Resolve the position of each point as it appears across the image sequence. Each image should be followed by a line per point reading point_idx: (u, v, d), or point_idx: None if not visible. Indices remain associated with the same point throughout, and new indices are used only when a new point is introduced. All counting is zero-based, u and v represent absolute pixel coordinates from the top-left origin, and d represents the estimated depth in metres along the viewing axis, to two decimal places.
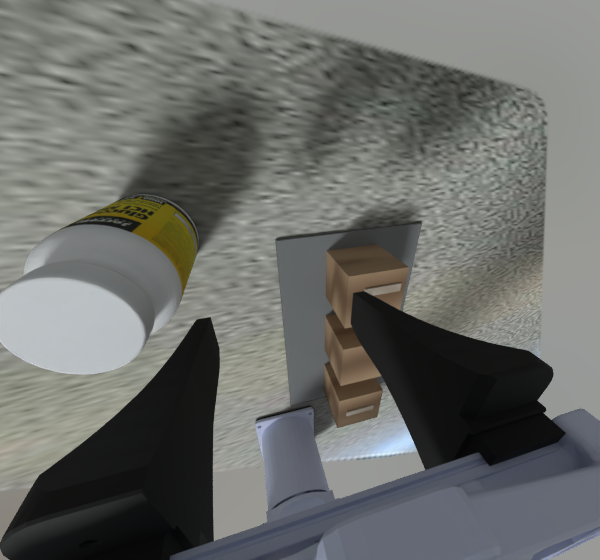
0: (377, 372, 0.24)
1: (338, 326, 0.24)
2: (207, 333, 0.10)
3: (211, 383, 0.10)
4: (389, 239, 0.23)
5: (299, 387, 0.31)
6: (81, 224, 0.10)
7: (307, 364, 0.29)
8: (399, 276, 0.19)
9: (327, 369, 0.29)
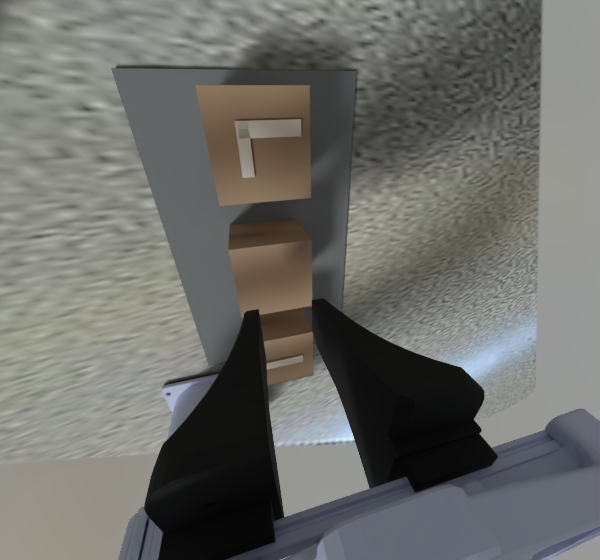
0: (297, 299, 0.17)
1: (240, 232, 0.17)
2: (260, 324, 0.10)
3: (265, 371, 0.10)
4: None
5: (215, 339, 0.23)
6: None
7: (219, 304, 0.21)
8: (295, 104, 0.11)
9: None
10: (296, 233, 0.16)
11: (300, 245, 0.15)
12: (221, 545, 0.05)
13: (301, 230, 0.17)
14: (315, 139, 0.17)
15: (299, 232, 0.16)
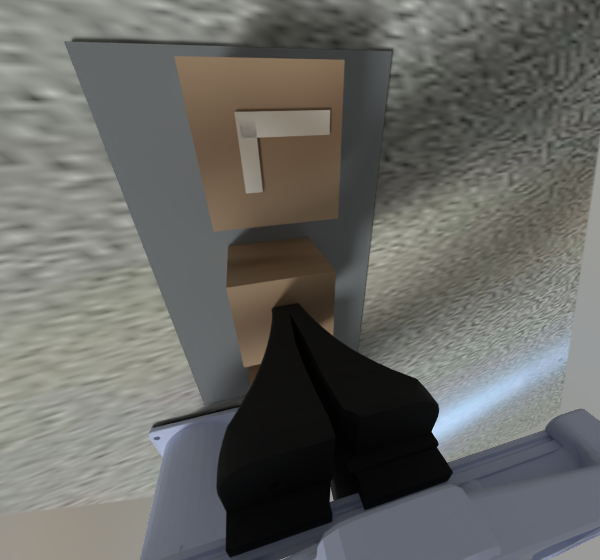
0: None
1: (241, 257, 0.13)
2: (290, 319, 0.11)
3: None
4: None
5: (211, 376, 0.19)
6: None
7: (216, 337, 0.18)
8: (323, 88, 0.08)
9: None
10: (313, 261, 0.12)
11: (321, 278, 0.11)
12: (283, 524, 0.05)
13: (319, 255, 0.13)
14: None
15: (318, 259, 0.13)
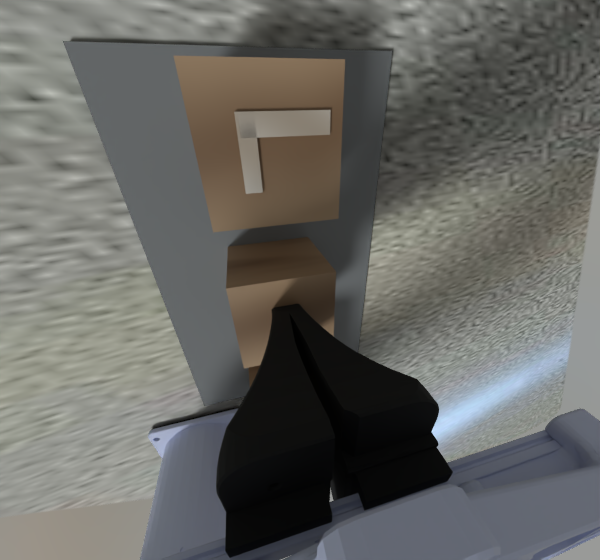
0: None
1: (241, 258, 0.13)
2: (289, 318, 0.11)
3: None
4: None
5: (211, 377, 0.19)
6: None
7: (215, 338, 0.18)
8: (323, 88, 0.08)
9: None
10: (313, 261, 0.12)
11: (321, 279, 0.11)
12: (283, 524, 0.05)
13: (319, 255, 0.13)
14: None
15: (318, 260, 0.12)
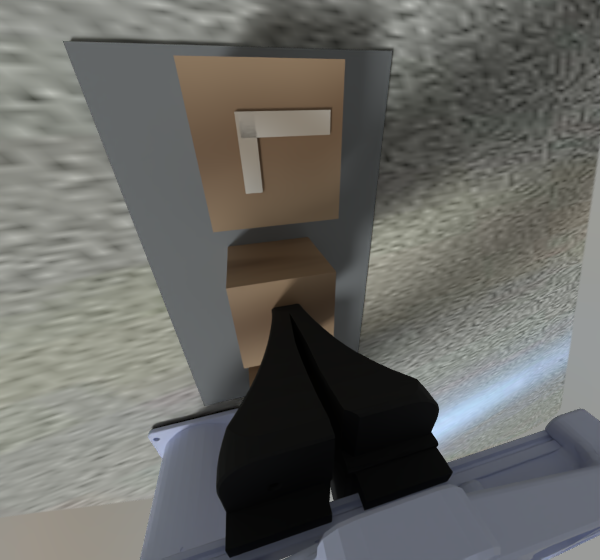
0: None
1: (241, 258, 0.13)
2: (289, 319, 0.11)
3: None
4: None
5: (211, 377, 0.19)
6: None
7: (215, 338, 0.18)
8: (323, 88, 0.08)
9: None
10: (313, 261, 0.12)
11: (321, 279, 0.11)
12: (283, 524, 0.05)
13: (320, 255, 0.13)
14: None
15: (318, 259, 0.12)
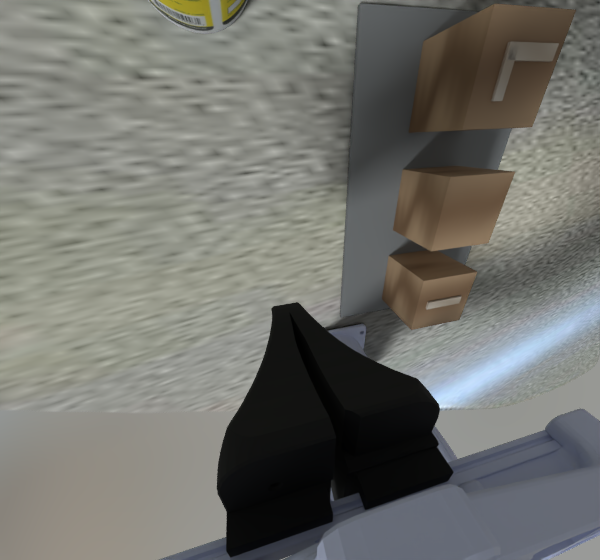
0: (479, 235, 0.18)
1: (427, 171, 0.18)
2: None
3: None
4: None
5: (354, 289, 0.24)
6: None
7: (369, 252, 0.22)
8: (558, 28, 0.12)
9: (394, 258, 0.22)
10: (487, 170, 0.17)
11: (504, 177, 0.16)
12: (284, 524, 0.05)
13: (486, 169, 0.18)
14: None
15: (489, 170, 0.17)
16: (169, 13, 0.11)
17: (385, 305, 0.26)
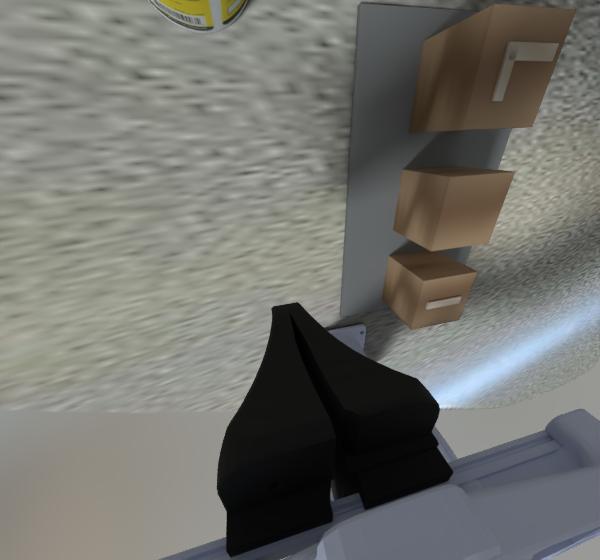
0: (479, 235, 0.18)
1: (427, 171, 0.18)
2: None
3: None
4: None
5: (354, 289, 0.24)
6: None
7: (369, 252, 0.22)
8: (558, 28, 0.12)
9: (394, 258, 0.22)
10: (487, 170, 0.17)
11: (504, 177, 0.16)
12: (284, 524, 0.05)
13: (486, 169, 0.18)
14: None
15: (489, 170, 0.17)
16: (169, 13, 0.11)
17: (385, 305, 0.26)
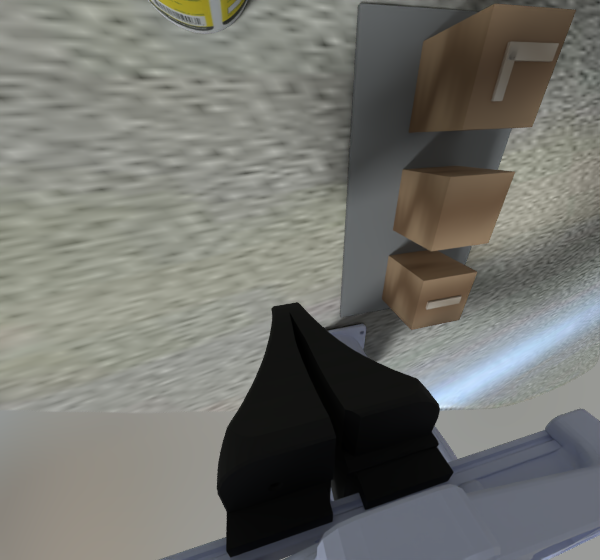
0: (479, 235, 0.18)
1: (427, 171, 0.18)
2: None
3: None
4: None
5: (354, 289, 0.24)
6: None
7: (369, 252, 0.22)
8: (558, 28, 0.12)
9: (394, 258, 0.22)
10: (487, 170, 0.17)
11: (504, 177, 0.16)
12: (284, 524, 0.05)
13: (486, 169, 0.18)
14: None
15: (489, 170, 0.17)
16: (169, 13, 0.11)
17: (385, 305, 0.26)
